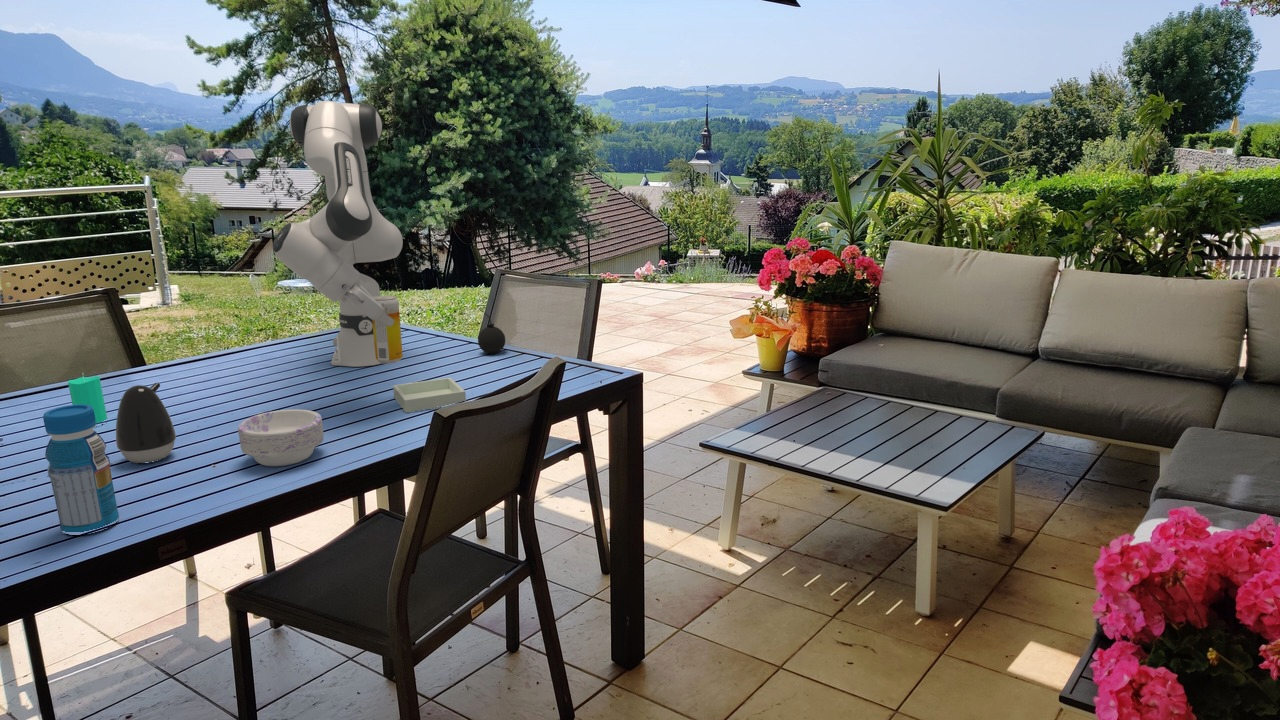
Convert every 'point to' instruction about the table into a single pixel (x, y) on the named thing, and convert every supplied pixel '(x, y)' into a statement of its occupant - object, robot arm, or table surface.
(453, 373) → the table surface
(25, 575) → the table surface
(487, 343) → the bomb
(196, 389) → the table surface
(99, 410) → the candle
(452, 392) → the tray
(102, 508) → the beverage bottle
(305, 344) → the table surface
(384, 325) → the beer can
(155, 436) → the pump dispenser
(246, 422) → the paper bowls
